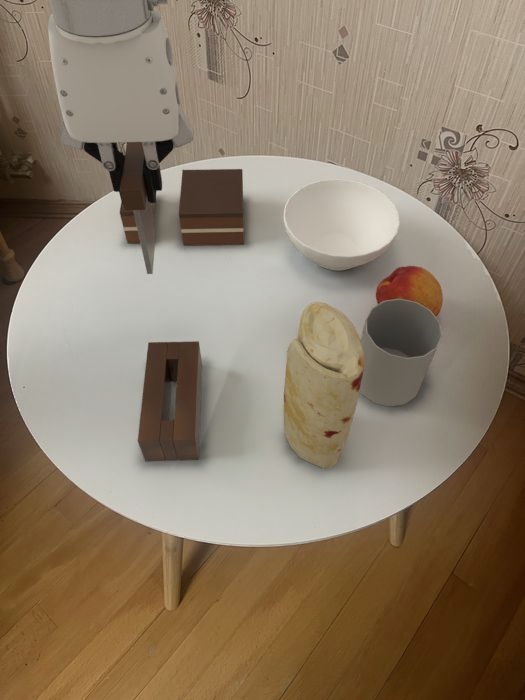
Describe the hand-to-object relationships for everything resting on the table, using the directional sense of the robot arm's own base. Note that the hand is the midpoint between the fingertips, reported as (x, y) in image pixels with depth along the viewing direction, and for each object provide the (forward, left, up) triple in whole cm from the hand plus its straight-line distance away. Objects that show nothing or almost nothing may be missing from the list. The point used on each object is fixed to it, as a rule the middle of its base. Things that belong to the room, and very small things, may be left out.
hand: (139, 193), depth 58 cm
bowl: (+24, +12, -21) cm, 34 cm away
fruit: (+32, 0, -21) cm, 38 cm away
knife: (0, 0, -8) cm, 8 cm away
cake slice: (-5, +20, -21) cm, 29 cm away
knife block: (+2, -14, -21) cm, 25 cm away
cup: (+28, -10, -21) cm, 36 cm away
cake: (+6, +19, -21) cm, 29 cm away
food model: (+18, -18, -21) cm, 33 cm away
